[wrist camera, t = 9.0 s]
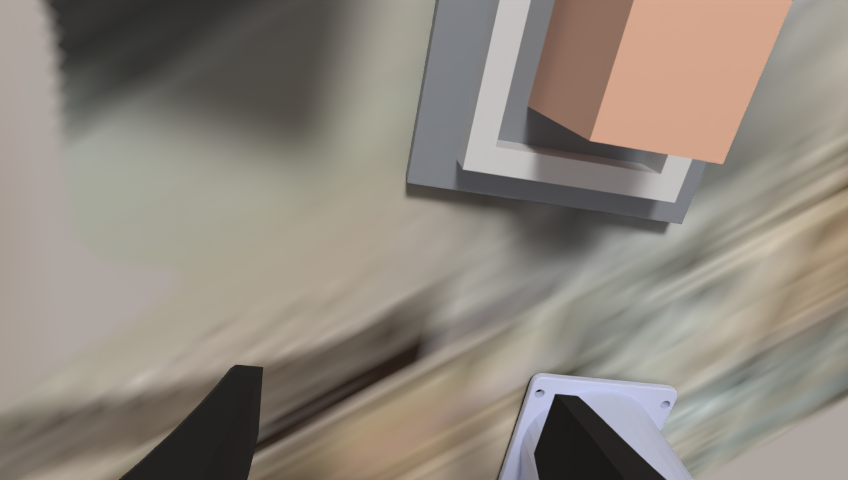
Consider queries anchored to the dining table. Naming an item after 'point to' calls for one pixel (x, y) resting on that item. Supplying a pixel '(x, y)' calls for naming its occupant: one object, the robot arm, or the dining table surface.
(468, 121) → the slot stand
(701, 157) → the key block
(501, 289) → the dining table surface
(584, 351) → the dining table surface
